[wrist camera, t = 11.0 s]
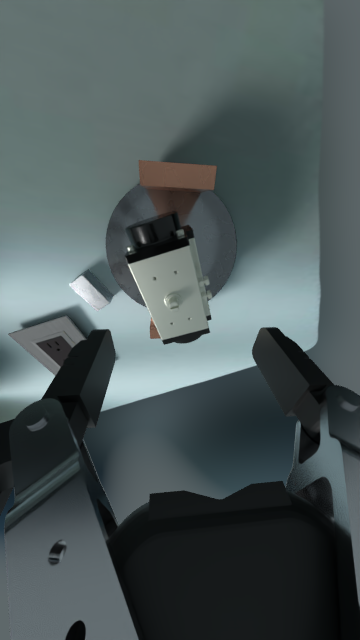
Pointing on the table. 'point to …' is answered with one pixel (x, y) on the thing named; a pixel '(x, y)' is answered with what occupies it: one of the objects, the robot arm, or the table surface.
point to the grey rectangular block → (92, 290)
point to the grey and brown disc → (193, 209)
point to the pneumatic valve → (169, 277)
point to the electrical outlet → (50, 341)
